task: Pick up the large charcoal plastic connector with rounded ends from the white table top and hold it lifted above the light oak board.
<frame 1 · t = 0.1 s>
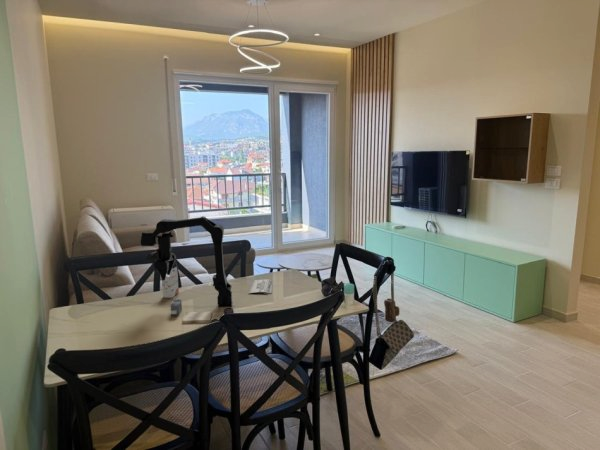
hand: (166, 277, 202), 15 cm above the table, tool pointing down, fingers open, 9 cm apart
newspaper: (261, 288, 234), on the table
oak board: (197, 318, 189), on the table
connector: (176, 312, 196), on the table
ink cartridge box: (170, 295, 220), on the table
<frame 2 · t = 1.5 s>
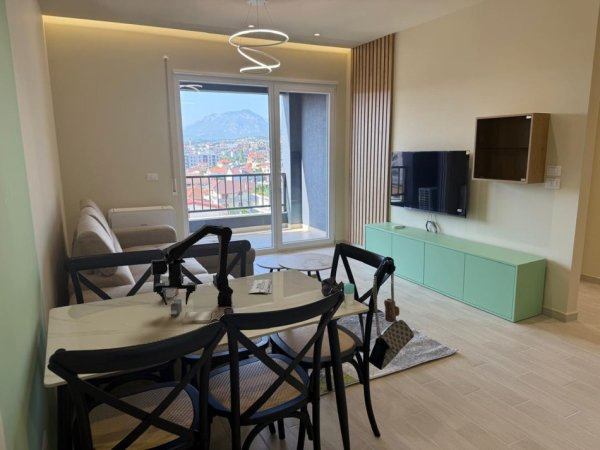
hand: (176, 304, 195), 4 cm above the table, tool pointing down, fingers open, 9 cm apart
nothing on the table moved.
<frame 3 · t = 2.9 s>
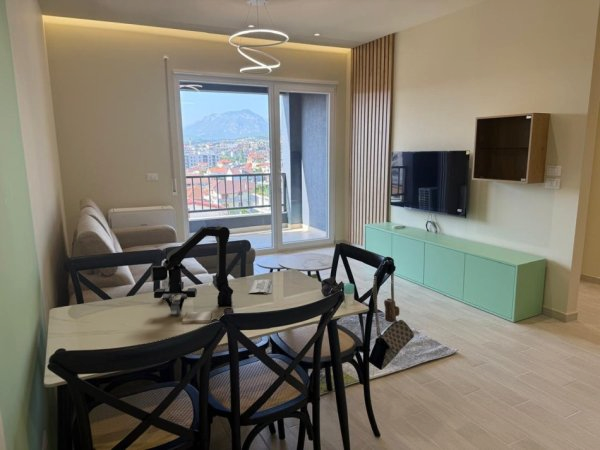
hand: (176, 310, 196), 1 cm above the table, tool pointing down, fingers closed on connector, 4 cm apart
connector: (176, 312, 196), on the table, touching gripper
everything else where it was.
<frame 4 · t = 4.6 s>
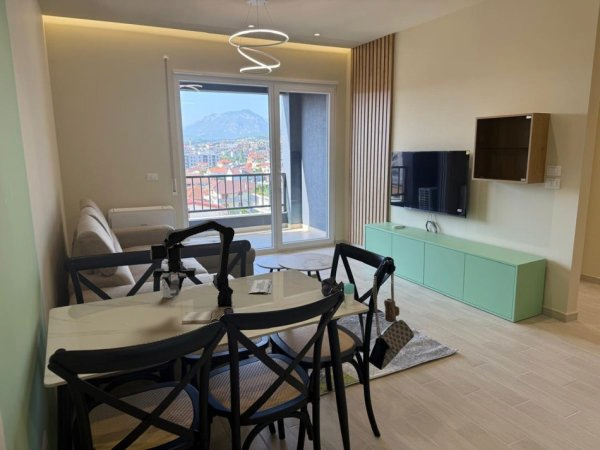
hand: (175, 290, 194), 11 cm above the table, tool pointing down, fingers closed on connector, 4 cm apart
connector: (175, 292, 194), point 10 cm above the table, touching gripper
everything else where it was.
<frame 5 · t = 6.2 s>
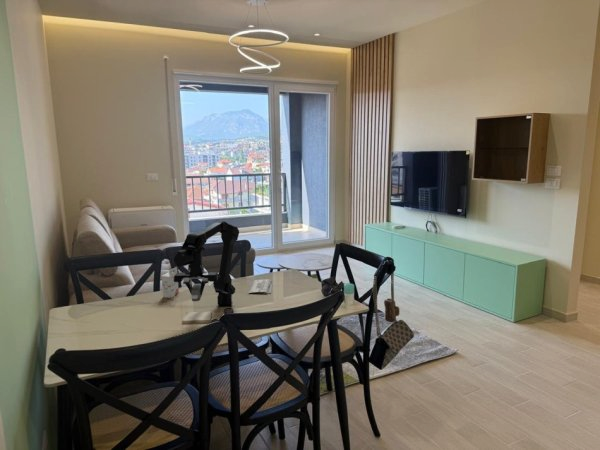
hand: (196, 295, 187), 11 cm above the table, tool pointing down, fingers closed on connector, 4 cm apart
connector: (196, 297, 187), point 10 cm above the table, touching gripper
everything else where it was.
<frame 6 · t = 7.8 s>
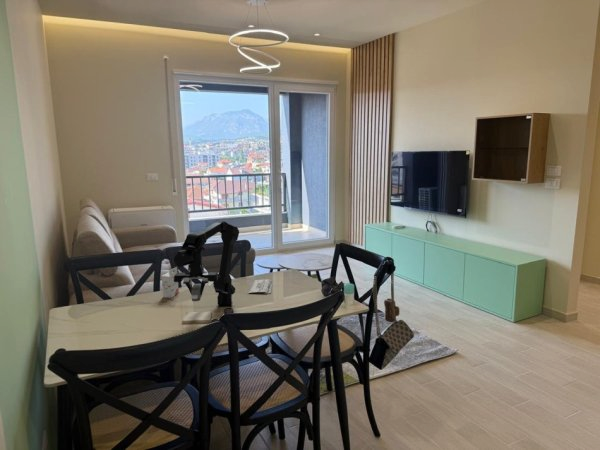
hand: (196, 295, 187), 11 cm above the table, tool pointing down, fingers closed on connector, 4 cm apart
connector: (196, 297, 187), point 10 cm above the table, touching gripper
everything else where it was.
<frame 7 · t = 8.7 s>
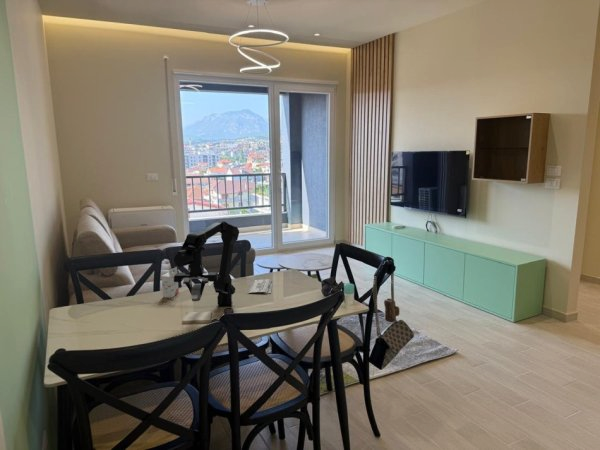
hand: (196, 295, 187), 11 cm above the table, tool pointing down, fingers closed on connector, 4 cm apart
connector: (196, 297, 187), point 10 cm above the table, touching gripper
everything else where it was.
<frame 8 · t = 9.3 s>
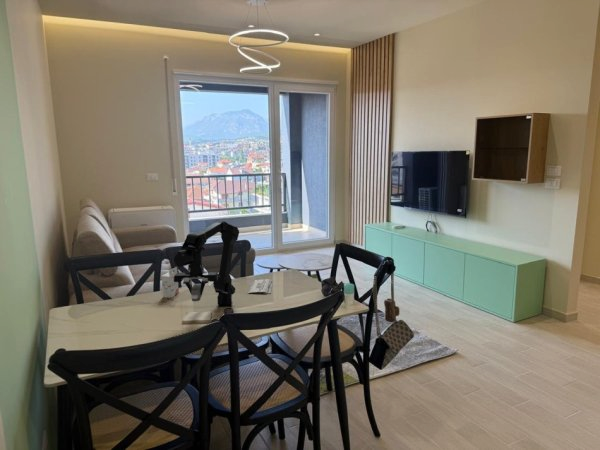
hand: (196, 295, 187), 11 cm above the table, tool pointing down, fingers closed on connector, 4 cm apart
connector: (196, 297, 187), point 10 cm above the table, touching gripper
everything else where it was.
at the end: the gripper is holding connector; connector inside the target area (0.0 cm from its centre), point 9.9 cm above the table; connector tilted 0° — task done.
